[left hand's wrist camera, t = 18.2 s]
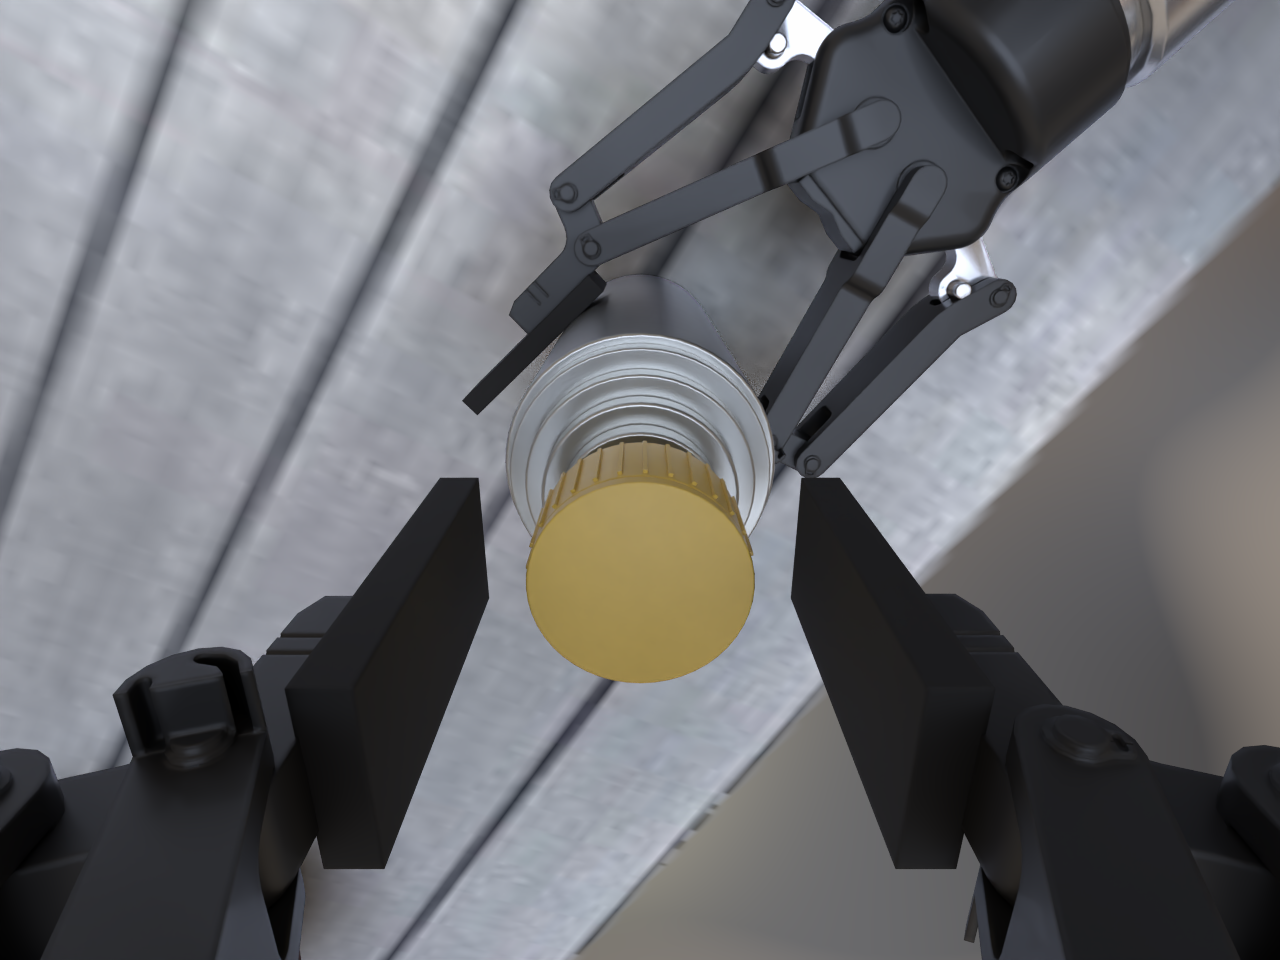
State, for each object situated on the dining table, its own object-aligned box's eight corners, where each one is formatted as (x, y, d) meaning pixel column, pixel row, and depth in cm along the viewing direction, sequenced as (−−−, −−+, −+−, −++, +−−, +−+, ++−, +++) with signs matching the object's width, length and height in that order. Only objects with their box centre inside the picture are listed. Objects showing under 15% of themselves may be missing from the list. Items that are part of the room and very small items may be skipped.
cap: (563, 415, 14) (550, 452, 12) (769, 467, 14) (790, 511, 12) (520, 597, 15) (502, 658, 13) (708, 640, 15) (718, 706, 13)
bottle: (651, 450, 35) (667, 779, 15) (536, 363, 33) (379, 599, 13) (744, 339, 33) (909, 544, 13) (627, 241, 31) (604, 301, 11)
